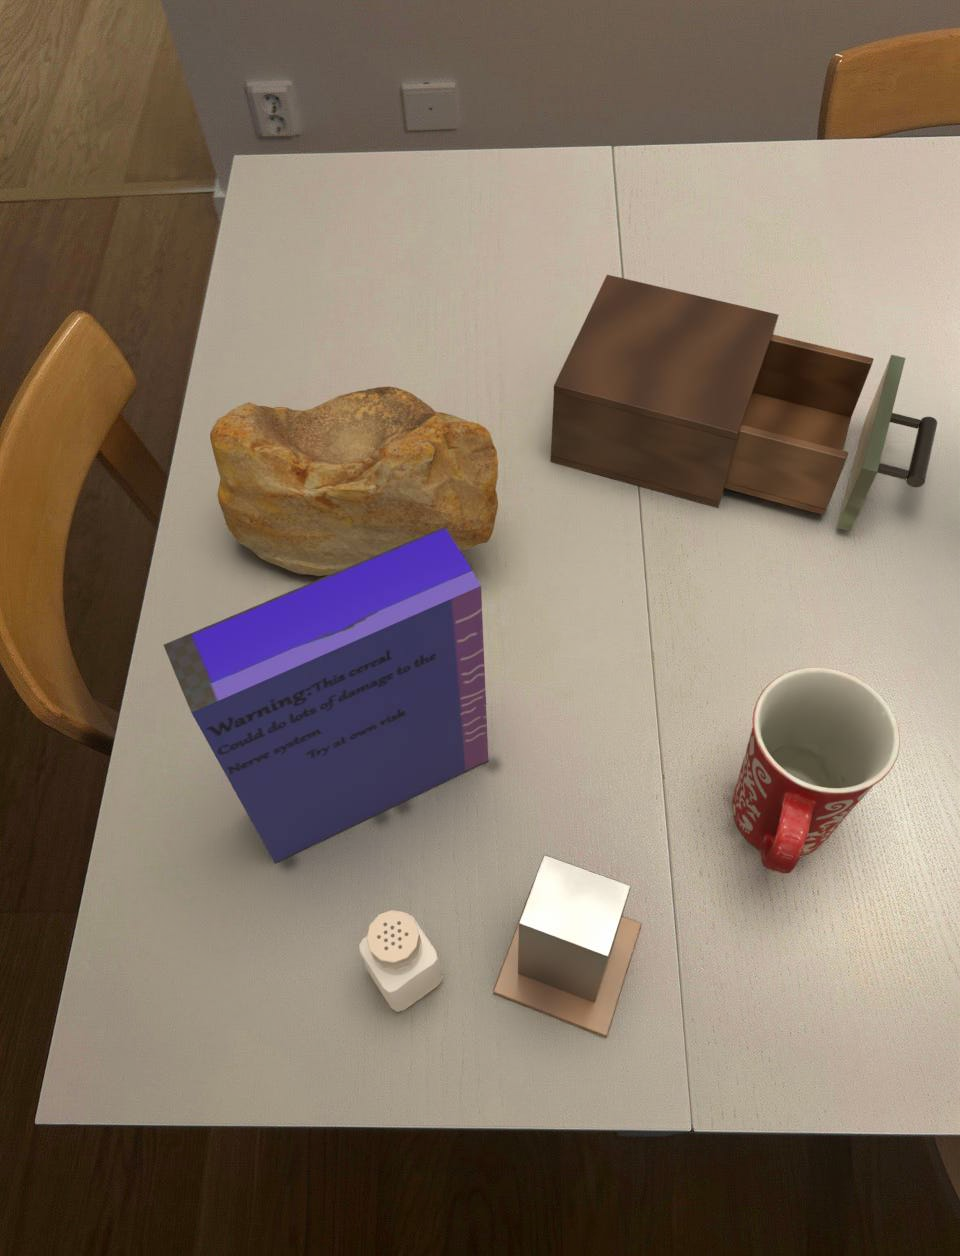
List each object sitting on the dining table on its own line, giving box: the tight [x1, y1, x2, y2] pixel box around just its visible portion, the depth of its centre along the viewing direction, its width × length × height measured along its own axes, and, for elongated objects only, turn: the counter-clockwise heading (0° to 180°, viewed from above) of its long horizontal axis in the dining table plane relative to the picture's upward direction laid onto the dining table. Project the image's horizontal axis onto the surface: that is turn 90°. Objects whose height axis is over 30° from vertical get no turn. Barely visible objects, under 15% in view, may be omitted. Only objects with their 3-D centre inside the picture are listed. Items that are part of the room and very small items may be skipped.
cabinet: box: [550, 274, 780, 509], centre depth 94 cm, size 16×15×10 cm
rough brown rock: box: [209, 386, 499, 577], centre depth 88 cm, size 23×17×15 cm
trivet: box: [492, 884, 642, 1038], centre depth 73 cm, size 8×8×1 cm
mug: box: [731, 666, 901, 875], centre depth 72 cm, size 13×9×14 cm
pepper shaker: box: [358, 909, 443, 1013], centre depth 68 cm, size 4×4×10 cm
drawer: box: [724, 334, 938, 532], centre depth 91 cm, size 19×13×8 cm
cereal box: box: [163, 527, 489, 865], centre depth 70 cm, size 17×5×24 cm, turn 117°
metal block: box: [518, 854, 632, 1003], centre depth 68 cm, size 6×4×12 cm
